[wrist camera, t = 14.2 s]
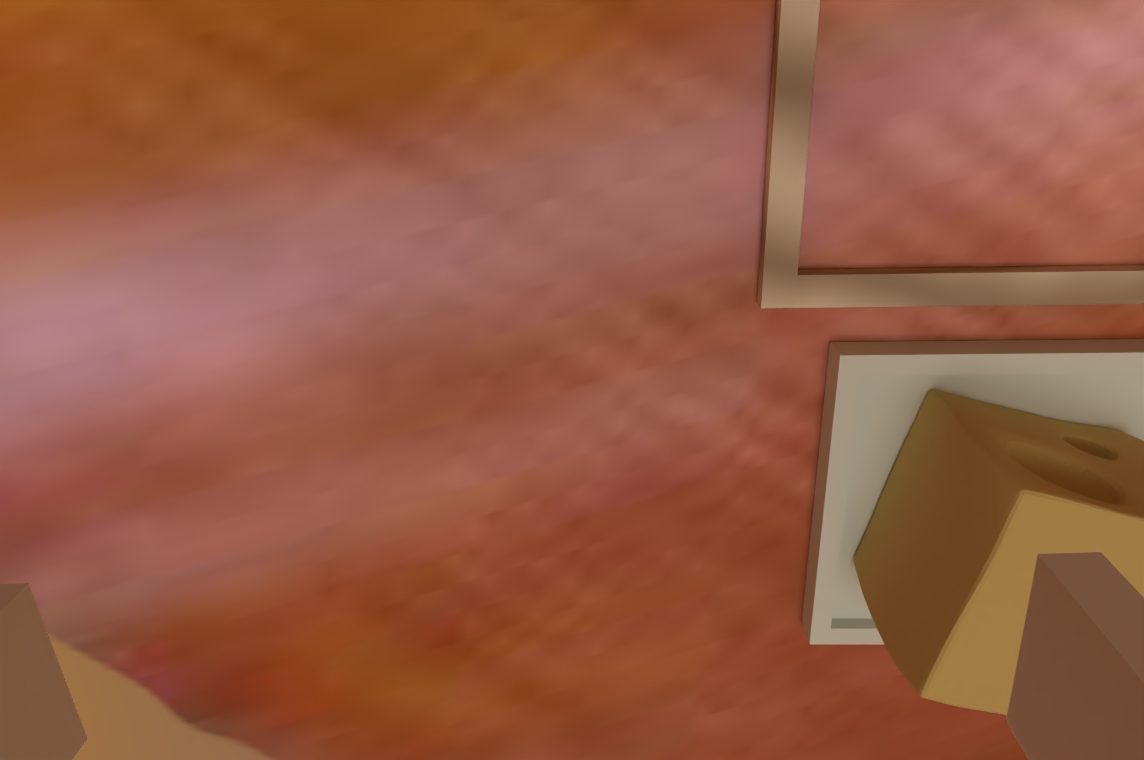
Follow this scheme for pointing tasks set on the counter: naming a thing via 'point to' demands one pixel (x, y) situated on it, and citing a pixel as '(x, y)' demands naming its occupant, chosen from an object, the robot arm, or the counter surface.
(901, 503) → the cheese
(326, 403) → the counter surface
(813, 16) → the wooden square frame
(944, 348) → the plate
